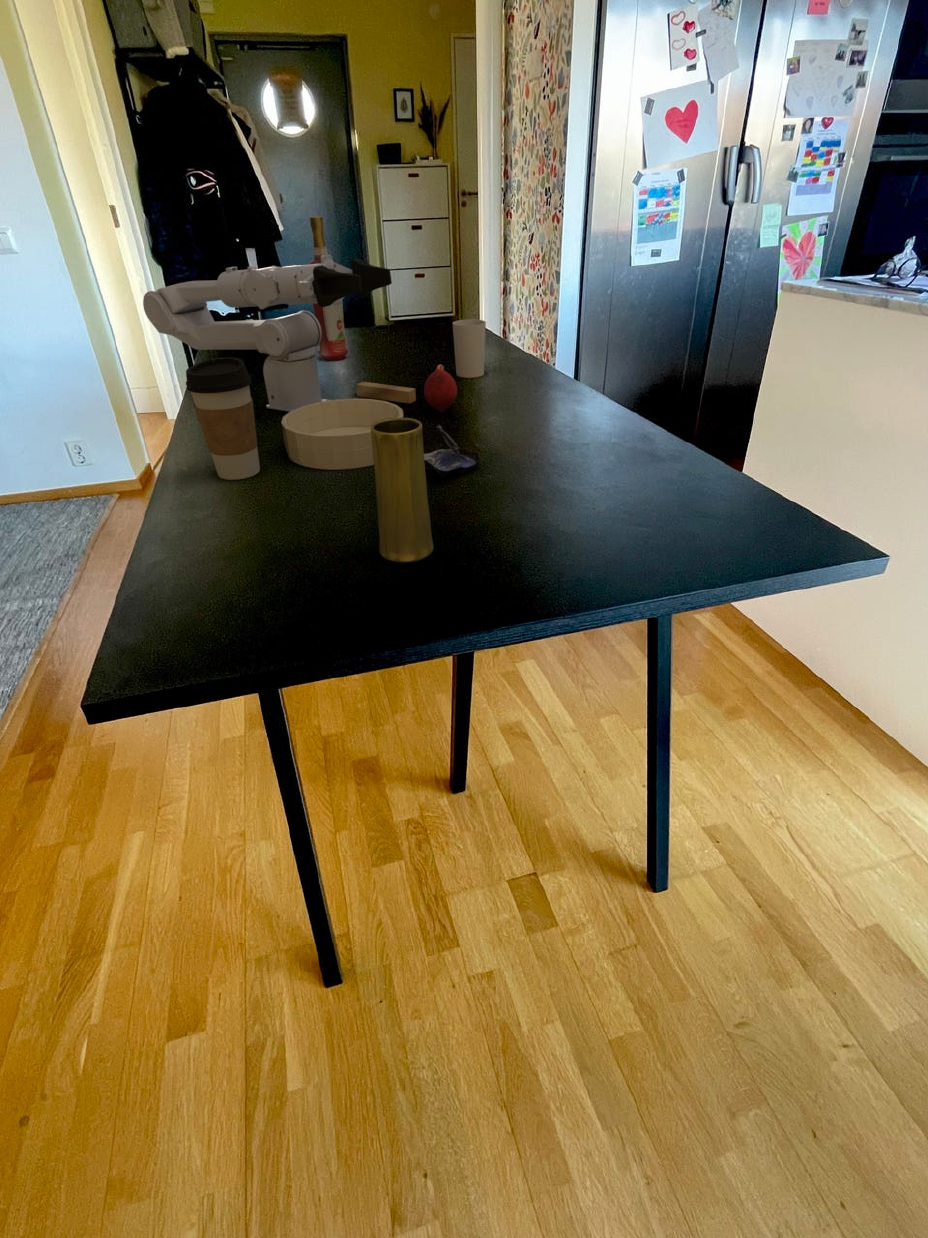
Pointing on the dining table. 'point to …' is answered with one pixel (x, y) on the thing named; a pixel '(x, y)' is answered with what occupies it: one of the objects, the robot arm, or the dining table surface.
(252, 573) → the dining table surface
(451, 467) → the dark piece
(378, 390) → the tan wooden bar
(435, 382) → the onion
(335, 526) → the dining table surface
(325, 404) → the bowl
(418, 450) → the vase
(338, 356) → the liquor
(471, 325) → the white paper cup
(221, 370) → the coffee cup
